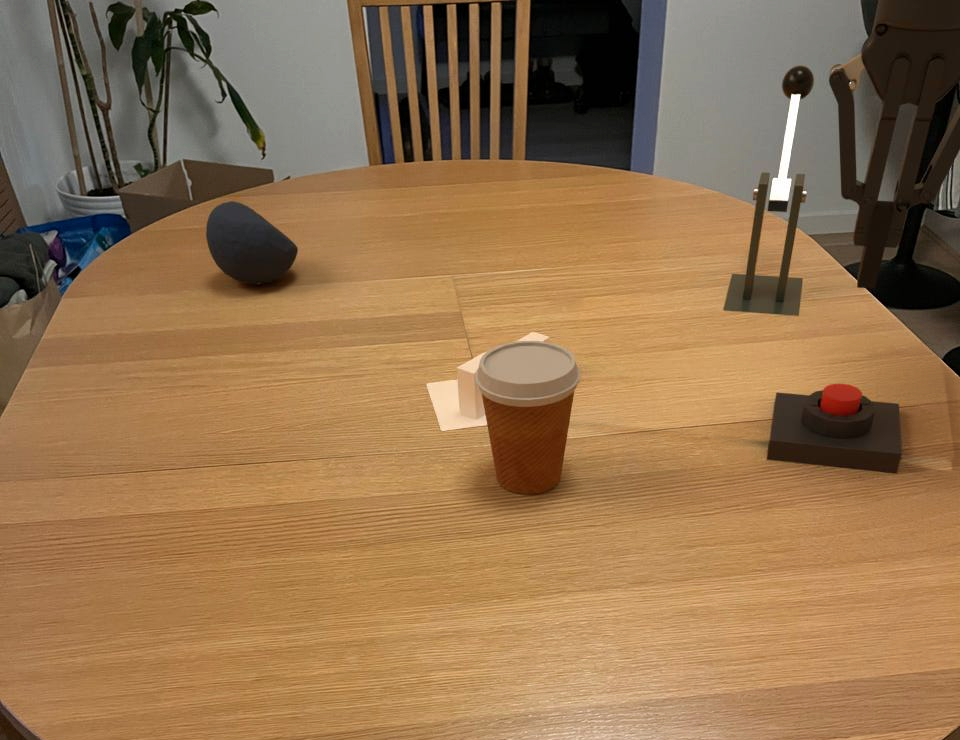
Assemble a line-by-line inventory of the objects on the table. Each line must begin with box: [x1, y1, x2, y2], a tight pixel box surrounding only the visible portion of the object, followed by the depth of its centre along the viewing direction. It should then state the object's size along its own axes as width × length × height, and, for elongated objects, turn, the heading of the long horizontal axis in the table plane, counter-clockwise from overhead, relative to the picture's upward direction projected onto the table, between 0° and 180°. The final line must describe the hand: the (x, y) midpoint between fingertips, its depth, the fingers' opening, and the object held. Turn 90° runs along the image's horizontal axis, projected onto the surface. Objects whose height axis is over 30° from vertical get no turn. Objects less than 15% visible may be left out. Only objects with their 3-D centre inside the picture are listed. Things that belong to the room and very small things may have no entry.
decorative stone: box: [205, 200, 299, 285], centre depth 131 cm, size 12×12×10 cm
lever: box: [767, 64, 815, 213], centre depth 114 cm, size 17×4×4 cm
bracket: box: [722, 172, 808, 317], centre depth 117 cm, size 12×9×15 cm
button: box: [820, 383, 863, 416], centre depth 93 cm, size 4×4×2 cm
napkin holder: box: [425, 331, 551, 432], centre depth 104 cm, size 15×11×6 cm
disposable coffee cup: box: [475, 340, 581, 495], centre depth 90 cm, size 10×10×12 cm
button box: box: [766, 389, 903, 474], centre depth 95 cm, size 12×10×4 cm
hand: (866, 282), depth 86 cm, fingers closed
